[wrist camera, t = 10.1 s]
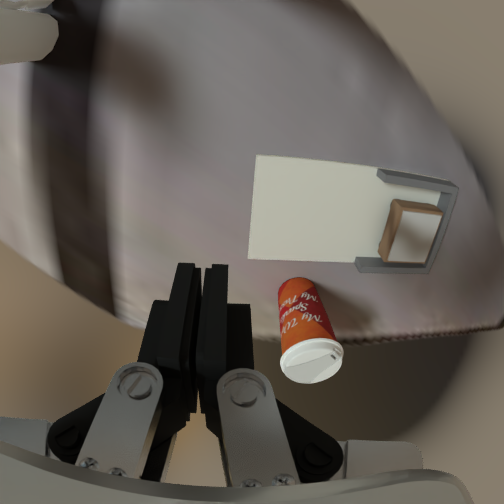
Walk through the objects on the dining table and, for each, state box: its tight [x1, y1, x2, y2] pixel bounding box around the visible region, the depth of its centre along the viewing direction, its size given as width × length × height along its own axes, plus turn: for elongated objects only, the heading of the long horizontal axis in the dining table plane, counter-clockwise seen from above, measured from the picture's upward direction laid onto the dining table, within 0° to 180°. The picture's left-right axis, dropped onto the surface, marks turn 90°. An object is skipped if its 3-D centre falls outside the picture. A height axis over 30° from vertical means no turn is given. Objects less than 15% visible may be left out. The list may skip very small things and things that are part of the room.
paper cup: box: [278, 277, 343, 383], centre depth 40 cm, size 8×8×14 cm
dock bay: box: [248, 154, 459, 274], centre depth 38 cm, size 14×27×3 cm, turn 86°
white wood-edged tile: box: [377, 199, 443, 264], centre depth 38 cm, size 8×7×4 cm
